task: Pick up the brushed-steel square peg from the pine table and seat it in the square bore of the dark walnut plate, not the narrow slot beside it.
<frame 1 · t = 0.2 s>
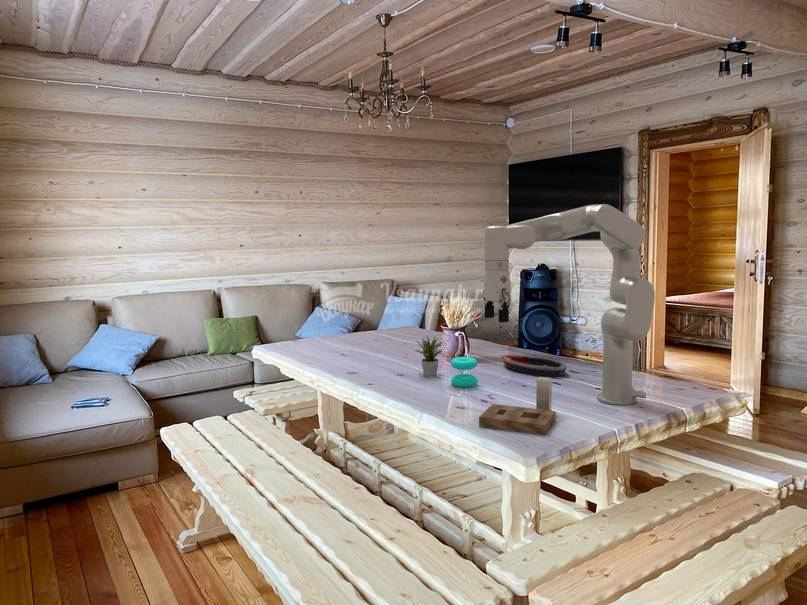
hand: (496, 319, 190), 30 cm above the table, tool pointing down, fingers open, 9 cm apart
steel square peg: (543, 412, 194), on the table
walnut bore plate: (517, 423, 183), on the table
dish: (532, 371, 248), on the table
house plant: (431, 376, 243), on the table
donuts: (464, 385, 228), on the table
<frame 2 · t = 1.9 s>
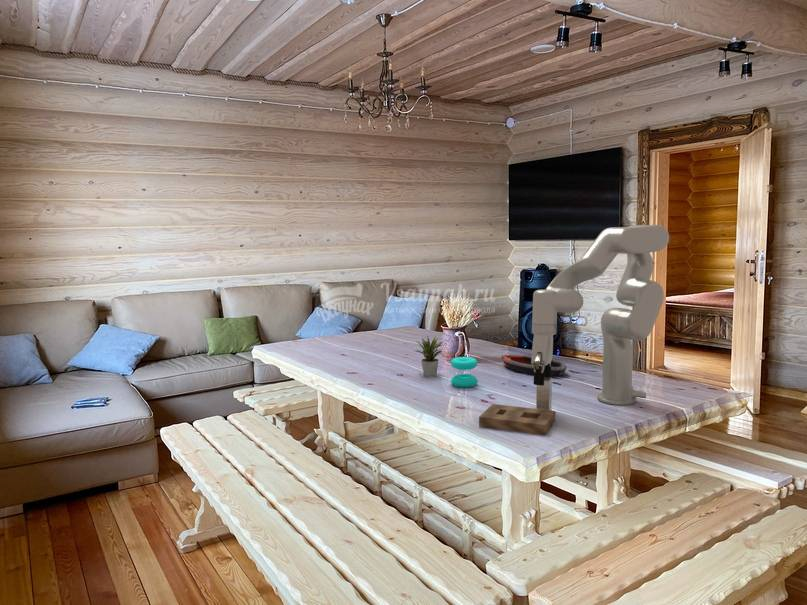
hand: (542, 381, 192), 10 cm above the table, tool pointing down, fingers open, 9 cm apart
nothing on the table moved.
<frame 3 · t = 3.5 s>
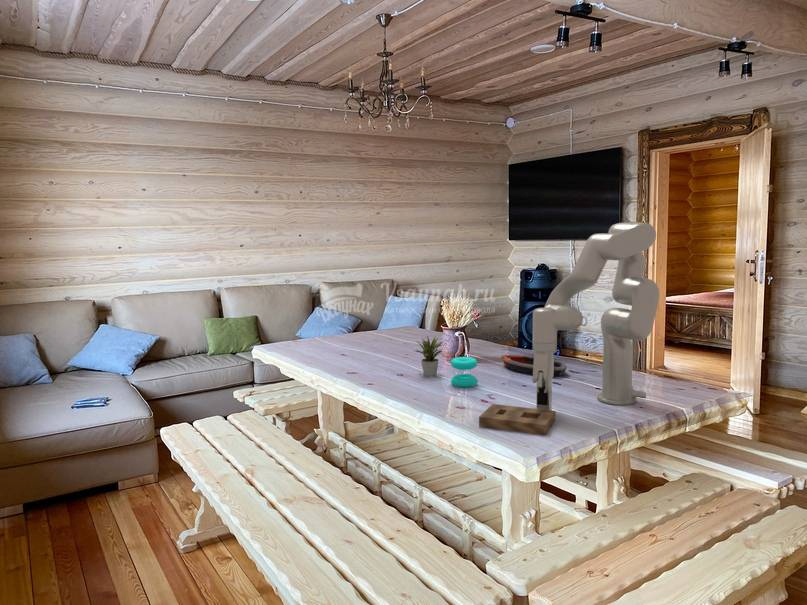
hand: (543, 402, 193), 3 cm above the table, tool pointing down, fingers closed on steel square peg, 4 cm apart
steel square peg: (544, 411, 194), on the table, touching gripper
everything else where it was.
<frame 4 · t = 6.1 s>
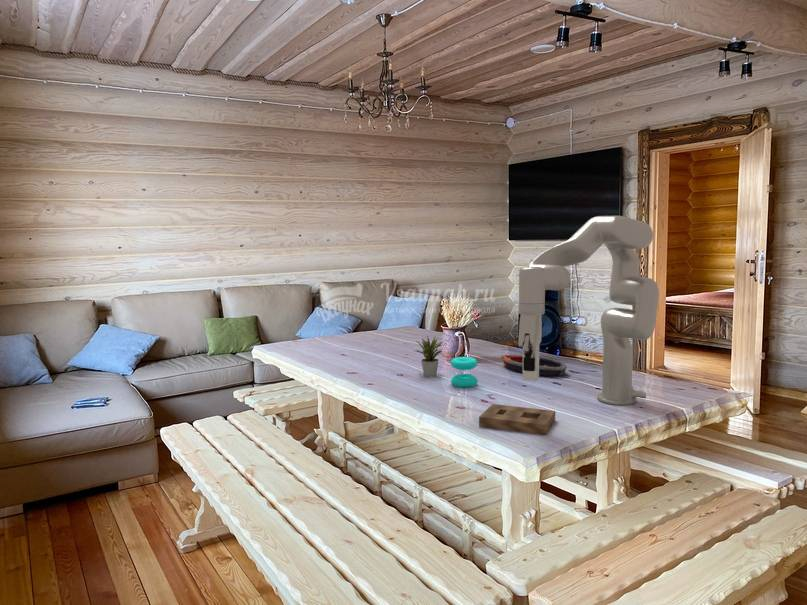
hand: (530, 368, 180), 17 cm above the table, tool pointing down, fingers closed on steel square peg, 4 cm apart
steel square peg: (530, 379, 180), point 14 cm above the table, touching gripper
everything else where it was.
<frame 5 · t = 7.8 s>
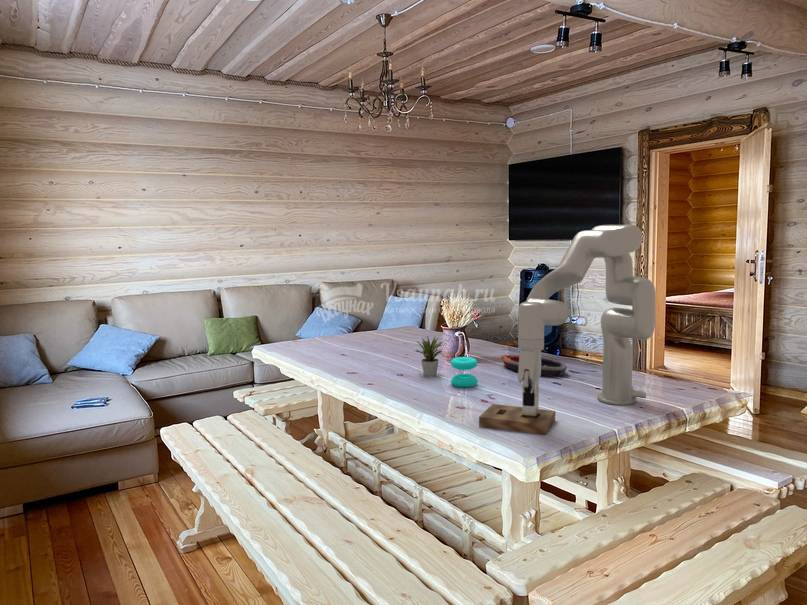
hand: (530, 402, 181), 7 cm above the table, tool pointing down, fingers closed on steel square peg, 4 cm apart
steel square peg: (530, 413, 181), point 4 cm above the table, touching gripper
everything else where it was.
when the fingers open (4 cm above the table, at t = 9.0 s): steel square peg stays where it is, resting in walnut bore plate.
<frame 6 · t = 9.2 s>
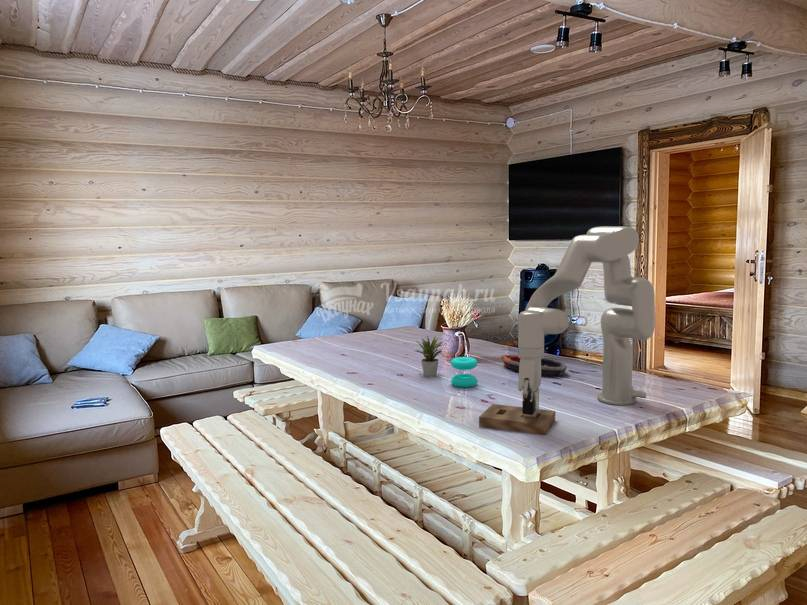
hand: (530, 410, 181), 5 cm above the table, tool pointing down, fingers open, 6 cm apart
steel square peg: (530, 425, 182), resting in walnut bore plate
everything else where it was.
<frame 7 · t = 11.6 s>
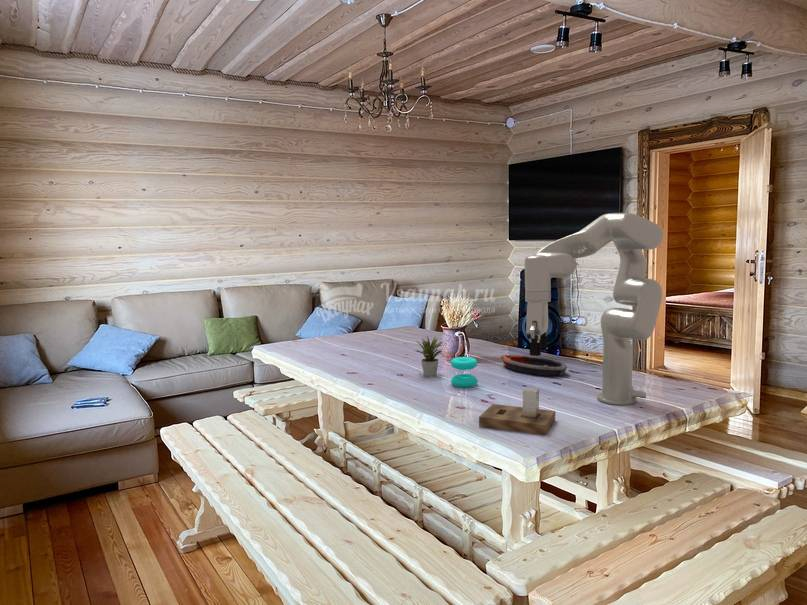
hand: (538, 351, 183), 22 cm above the table, tool pointing down, fingers open, 9 cm apart
nothing on the table moved.
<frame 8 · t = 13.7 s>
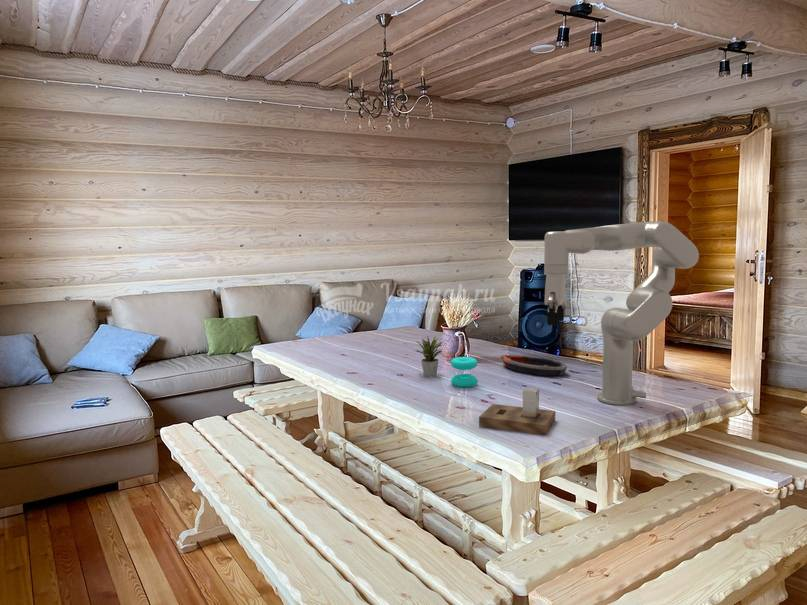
hand: (555, 322, 196), 28 cm above the table, tool pointing down, fingers open, 9 cm apart
nothing on the table moved.
at the end: steel square peg 0.1 cm from the target spot on the walnut bore plate, point 0.0 cm above the walnut bore plate's base; steel square peg tilted 0°; the gripper is holding nothing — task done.
